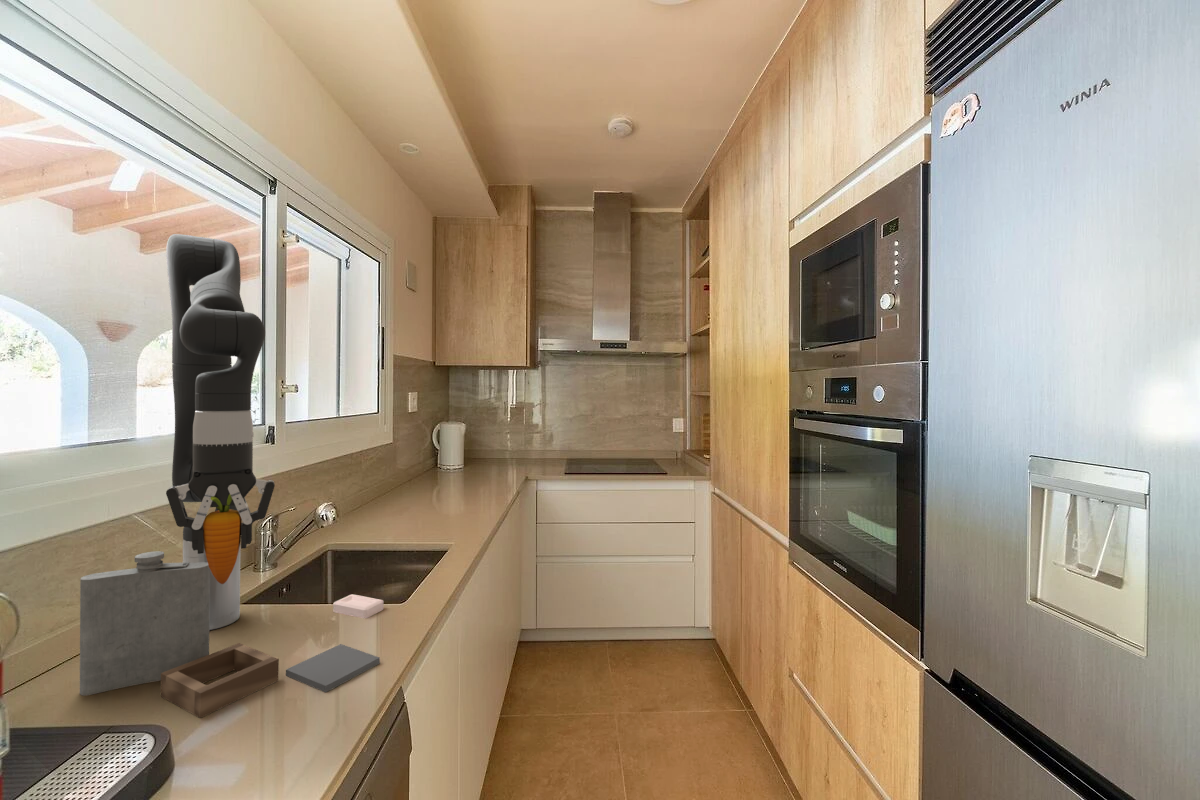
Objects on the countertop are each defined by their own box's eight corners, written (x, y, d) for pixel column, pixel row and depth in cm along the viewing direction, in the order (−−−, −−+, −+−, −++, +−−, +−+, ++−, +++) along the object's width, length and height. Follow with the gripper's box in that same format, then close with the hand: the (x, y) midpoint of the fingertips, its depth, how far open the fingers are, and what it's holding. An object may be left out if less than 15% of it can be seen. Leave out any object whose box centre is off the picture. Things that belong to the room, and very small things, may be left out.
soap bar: (365, 620, 107) (365, 608, 107) (331, 613, 110) (331, 601, 110) (384, 610, 112) (384, 599, 112) (351, 603, 115) (351, 592, 115)
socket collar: (160, 696, 79) (160, 673, 79) (238, 663, 89) (239, 643, 89) (200, 717, 74) (200, 693, 74) (278, 680, 84) (278, 658, 84)
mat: (285, 675, 85) (285, 669, 85) (340, 649, 94) (340, 643, 94) (325, 692, 81) (325, 685, 81) (379, 663, 90) (379, 657, 90)
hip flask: (75, 697, 78) (76, 564, 78) (87, 684, 82) (88, 556, 82) (206, 673, 86) (207, 551, 85) (211, 662, 89) (213, 544, 89)
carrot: (246, 583, 82) (246, 487, 81) (207, 592, 78) (207, 492, 78) (236, 575, 85) (237, 483, 85) (199, 584, 81) (199, 487, 81)
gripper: (159, 444, 74) (159, 564, 74) (278, 440, 82) (277, 549, 82) (167, 439, 80) (167, 550, 81) (277, 436, 88) (276, 537, 88)
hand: (223, 549), depth 81 cm, fingers closed on carrot, 4 cm apart
